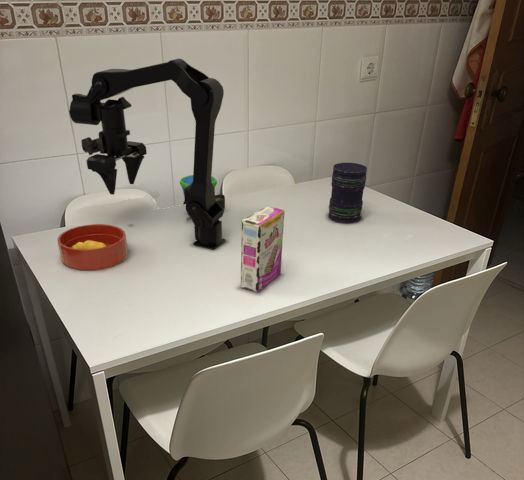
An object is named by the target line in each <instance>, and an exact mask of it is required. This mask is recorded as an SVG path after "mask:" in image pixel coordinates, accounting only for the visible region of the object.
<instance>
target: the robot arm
mask: <svg viewBox="0 0 524 480" xmlns="http://www.w3.org/2000/svg"><path fill="white" fill-rule="evenodd" d="M167 81H172V82H173V83H175V84H176V86H177V88H179V90H180V91H181V92H182V93H183V94H184V96H187V97H188V98H189V99H190V107H191V113H192V115H193V119H194V122H195V129H194V130H195V131H194V151H193V155H194V156H193V173H192V175H193V182H192V183H191V184H190V185H189V186H187V187H186V188H185V189H184V194H183V196H184V195H185V199H184V200H183V202H182V204H183V205H185V211H186V213H187V214H188V213H189V215H190V216H191V218H192V219H191V221H192V223H193V226H194V227H193V228H194V240H195V241H194V242H193V243H192V244H193V246H196V247H201V248H205V249H210V250H216V249H217V248H219V247H220V246H221V245H222V244H224V243H225V242H226V238H223V221H222V220H220V219H221V218H223V215H224V214H225V209H223V208H222V207H221V206H220V205H219V204H218V203H217V201H216V200H215V195H216V193H215V192H216V190H215V191H214V187H213V185H212V182H211V176H212V173H213V157H214V144H215V143H214V141H215V128H216V122H217V118H218V115H219V113H220V111H221V109H222V108H221V107H222V103H223V99H224V93H225V91H224V87H223V85H222V84H221V82H220V81H219V80H218V79H215V78H214V77H209V76H208V75H207V74H205V73H204V72H203V71H200V70H199V69H197V68H195V67H193V66H192V65H190V64H189V63H188V62H187V61H185V60H184V59H182V58H174V59H171V60H168V61H166V62H162V63H157V64H152V65H147V66H143V67H138V68H134V69H127V68H126V69H125V68H108V69H105V70H101V71H96V72H95V73H94V74H93V75H92V78H91V85H90V88H89V90H88V92H87V94H82V93H73V94H71V98H72V100H71V102H70V105H69V110H68V113H69V117H70V119H71V121H72V122H73V123H75V124H79V125H90V126H98V125H100V123H101V129H102V130H100V131H99V132H98V137H96V138H94V139H92V138H91V137H90V136H88V137H85V138H83V139H81V141H80V142H81V149H82V151H83V153H86V154H87V153H88V158H87V159H86V160H85V161H86V167H87V170H91V172H95V173H97V174H98V176H100V178H101V180H102V182H103V183H104V185H105V187H106V189H107V191H108V194H110V195H115V193H116V186H117V185H116V184H117V175H118V168H116V167H117V161H119V160H122V161H123V163H124V164H125V170H126V175H127V180H128V183H129V184H130V185H134V184H135V181H136V178H137V175H138V172H139V170H140V167H141V165H142V162H143V160H144V159H145V155H147V154H148V151H147V146H146V144H144V142H139V141H131V140H128V136H130V135H131V130H130V129H127V126H126V119H125V111H124V110H127V109H129V108H131V107H132V104H131V103H130V102H129V101H128V100H127V99H126V98H125V96H121V97H118V98H117V99H110V98H113V97H116V96H120V95H122V94H124V93H126V92H128V91H130V90H132V89H135V88H139V87H143V86H148V85H153V84H157V83H163V82H167ZM103 100H106V101H105V102H102V101H103ZM189 215H188V216H189ZM190 216H189V217H190Z"/></svg>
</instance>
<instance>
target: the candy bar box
mask: <svg viewBox="0 0 524 480" xmlns="http://www.w3.org/2000/svg"><path fill="white" fill-rule="evenodd" d="M285 211H286V210H284V209H282V208H278V207H272V206H268V205H266V206H265V207H263V208H261V209H259V210H258V211H256V212H255V213H251V215H249V216H246V217H245V218H243V219H242V220H241V243H240V244H241V246H240V247H241V248H240V252H241V253H240V255H241V257H240V288H241V289H244V290H246V291H247V290H248V291H250V292H254V293H259V292H261V290H263V289H264V288H266V286H268V285H269V284H271V282H273V281H274V280H276V279H277V278H278V277H279V276H281V273H282V257H283V255H282V254H283V241H284V240H283V238H284V224H285V223H284V222H285Z"/></svg>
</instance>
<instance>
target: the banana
mask: <svg viewBox="0 0 524 480" xmlns="http://www.w3.org/2000/svg"><path fill="white" fill-rule="evenodd" d="M102 247H106V245H105V244H104V243H101V242H96V241H90V240H88V241H85V242H84V243H83V242H78V243H76V245H73V246H72V248H74V249H96V248H102Z"/></svg>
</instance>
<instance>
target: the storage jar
mask: <svg viewBox="0 0 524 480" xmlns="http://www.w3.org/2000/svg"><path fill="white" fill-rule="evenodd" d="M332 167H333V168H332V170H333V171H332V175H331V183H330V184H331V195H330V198H329V204H328V219H329V220H330V221H332V222H334V223H338V224H346V225H347V224H356V223H358V222H360V221H361V215H362V212H363V205H364V200H363V196H364V190H365V188H366V182H367V172H368V167H367V166H366V165H363V164H361V163H356V162H339V163H335V164H333V166H332Z"/></svg>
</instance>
